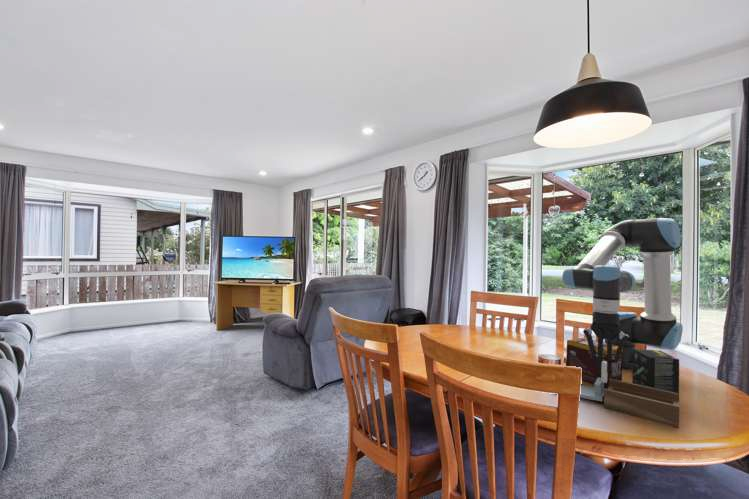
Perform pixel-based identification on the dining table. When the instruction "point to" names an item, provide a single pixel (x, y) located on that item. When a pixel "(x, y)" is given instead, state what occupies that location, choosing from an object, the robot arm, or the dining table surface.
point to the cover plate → (593, 391)
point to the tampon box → (656, 370)
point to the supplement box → (591, 361)
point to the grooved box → (642, 402)
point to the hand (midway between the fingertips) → (604, 381)
